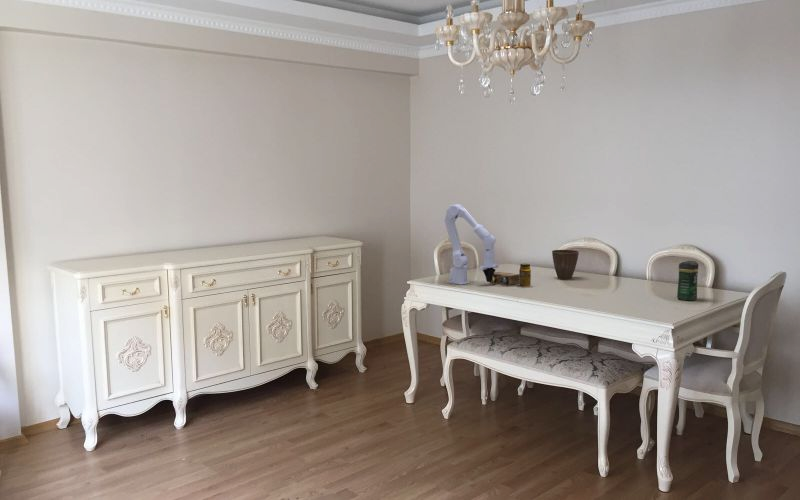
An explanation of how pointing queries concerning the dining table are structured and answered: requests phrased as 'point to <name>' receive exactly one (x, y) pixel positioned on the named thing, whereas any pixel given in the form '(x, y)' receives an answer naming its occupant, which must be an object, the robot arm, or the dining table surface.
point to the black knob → (504, 280)
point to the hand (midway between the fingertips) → (488, 281)
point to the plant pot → (565, 263)
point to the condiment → (524, 276)
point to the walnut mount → (512, 278)
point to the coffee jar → (687, 280)
